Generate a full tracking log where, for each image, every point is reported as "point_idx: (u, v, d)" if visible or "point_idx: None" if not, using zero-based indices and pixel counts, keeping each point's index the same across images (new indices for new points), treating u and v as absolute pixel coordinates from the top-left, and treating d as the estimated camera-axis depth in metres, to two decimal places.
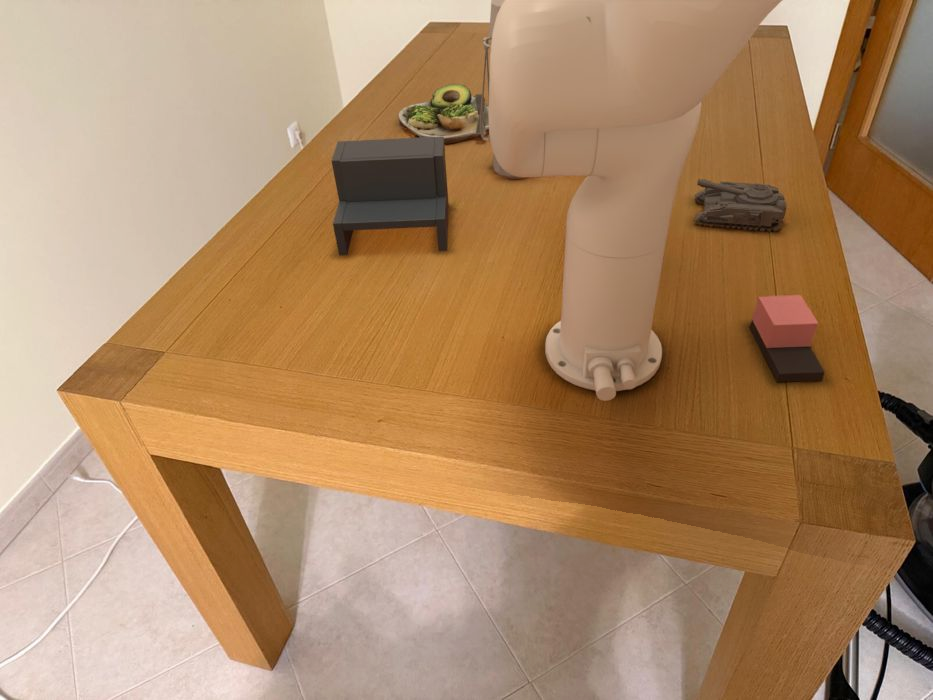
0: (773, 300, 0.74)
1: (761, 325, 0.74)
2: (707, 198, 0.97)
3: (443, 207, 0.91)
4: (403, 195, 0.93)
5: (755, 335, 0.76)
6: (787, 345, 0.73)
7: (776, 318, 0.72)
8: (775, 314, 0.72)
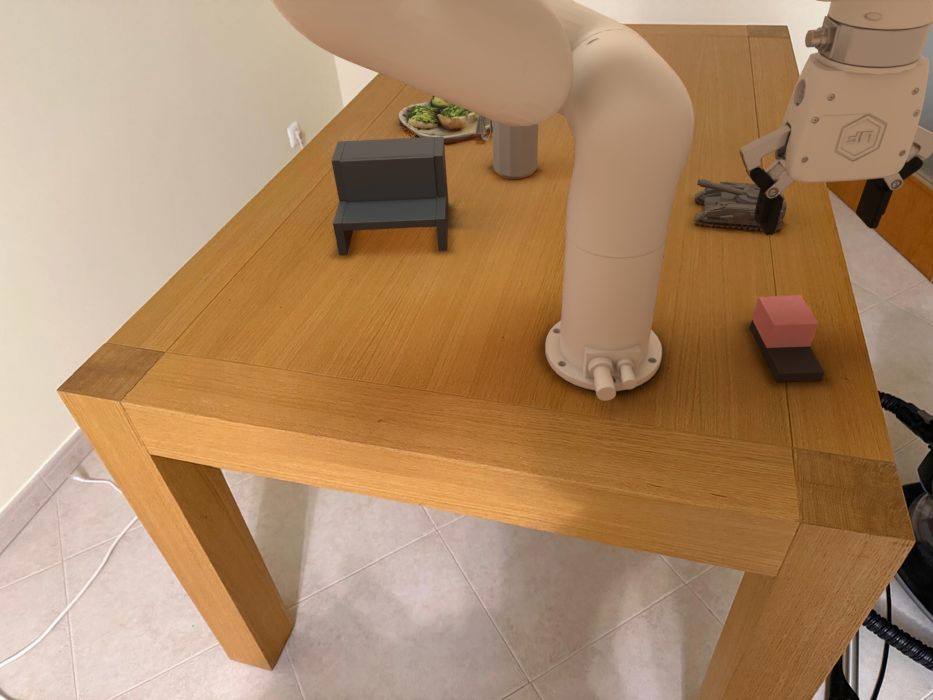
0: (773, 300, 0.74)
1: (761, 325, 0.74)
2: (707, 198, 0.97)
3: (443, 207, 0.91)
4: (403, 195, 0.93)
5: (755, 335, 0.76)
6: (787, 345, 0.73)
7: (776, 318, 0.72)
8: (775, 314, 0.72)
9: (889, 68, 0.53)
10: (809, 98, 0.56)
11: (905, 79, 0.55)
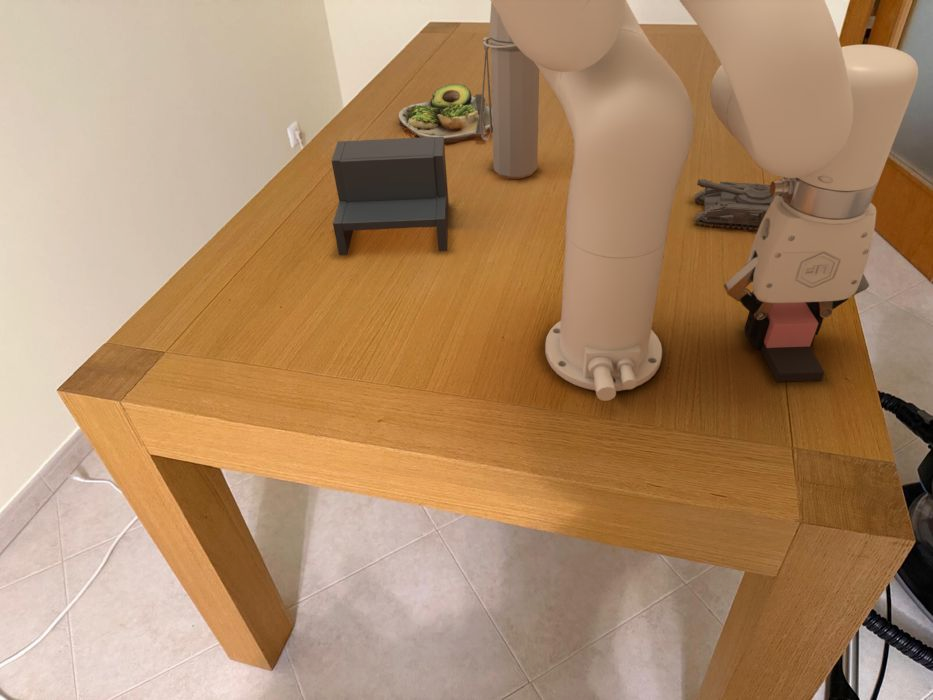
0: None
1: None
2: (707, 198, 0.97)
3: (443, 207, 0.91)
4: (403, 195, 0.93)
5: None
6: (787, 345, 0.73)
7: (776, 318, 0.72)
8: (775, 314, 0.72)
9: (840, 220, 0.61)
10: (773, 236, 0.65)
11: (855, 226, 0.63)
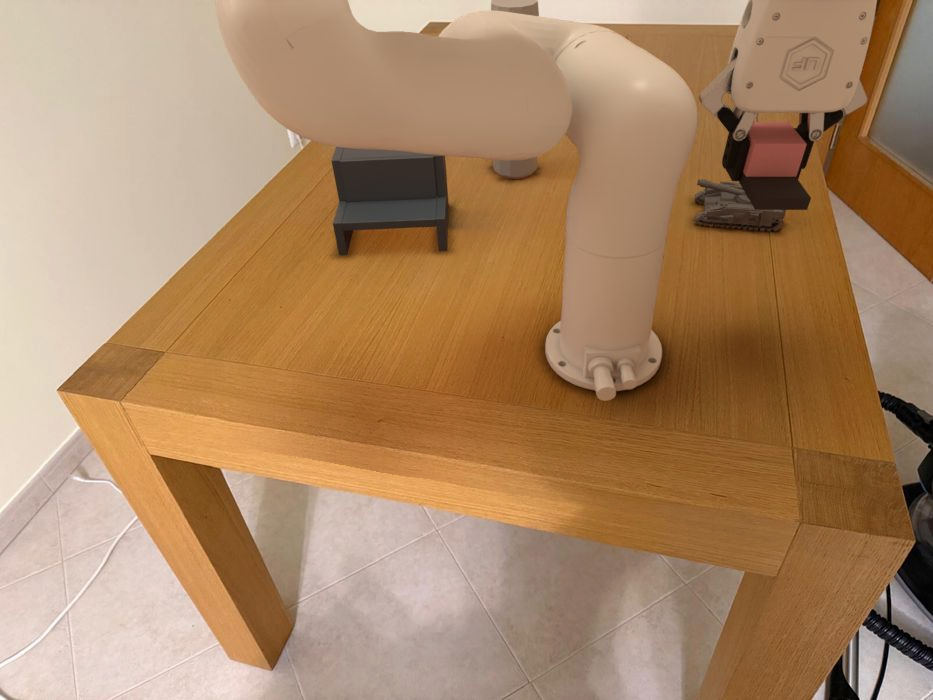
0: (756, 125, 0.64)
1: None
2: (707, 198, 0.97)
3: (443, 207, 0.91)
4: (403, 195, 0.93)
5: None
6: (770, 174, 0.63)
7: (758, 138, 0.62)
8: (757, 136, 0.62)
9: None
10: (755, 17, 0.55)
11: (853, 1, 0.53)
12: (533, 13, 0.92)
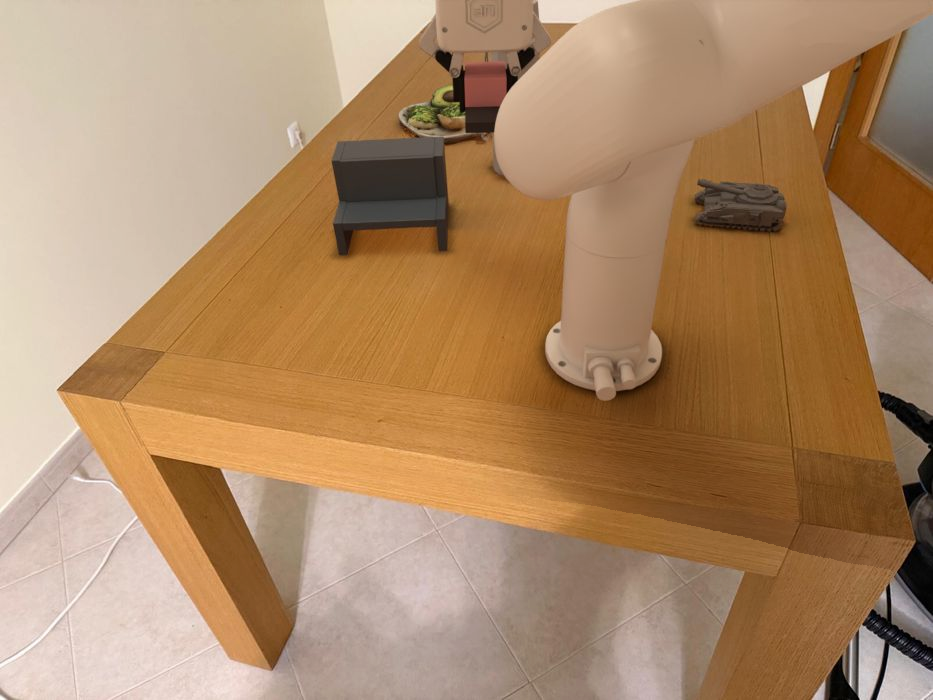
0: (476, 64, 0.77)
1: None
2: (707, 198, 0.97)
3: (443, 207, 0.91)
4: (403, 195, 0.93)
5: None
6: (484, 104, 0.76)
7: (470, 75, 0.75)
8: (470, 72, 0.76)
9: None
10: None
11: None
12: None
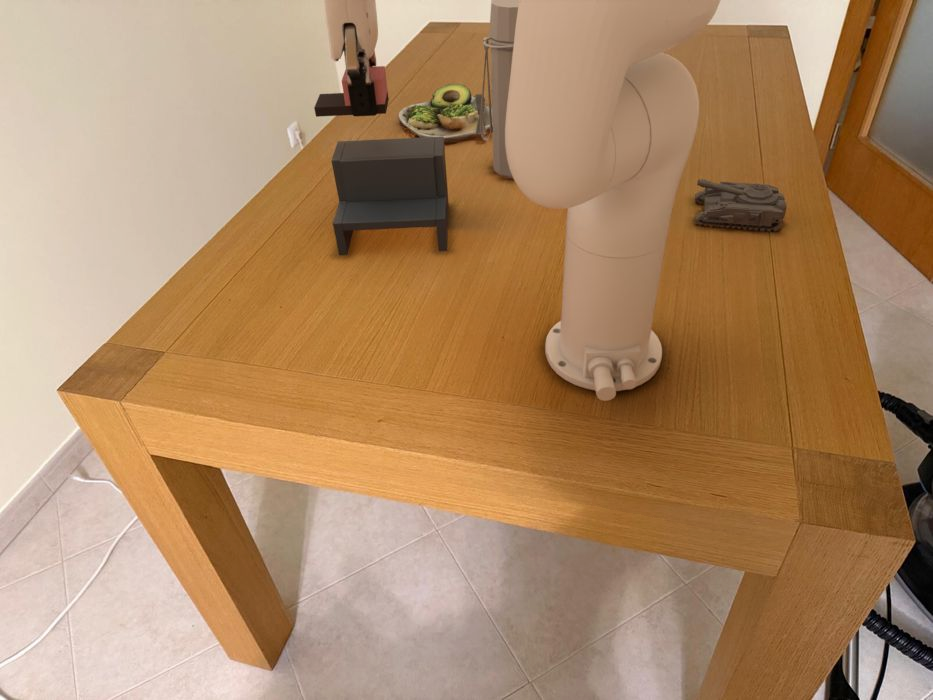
0: (377, 69, 0.86)
1: None
2: (707, 198, 0.97)
3: (443, 207, 0.91)
4: (403, 195, 0.93)
5: None
6: None
7: None
8: None
9: None
10: None
11: None
12: None
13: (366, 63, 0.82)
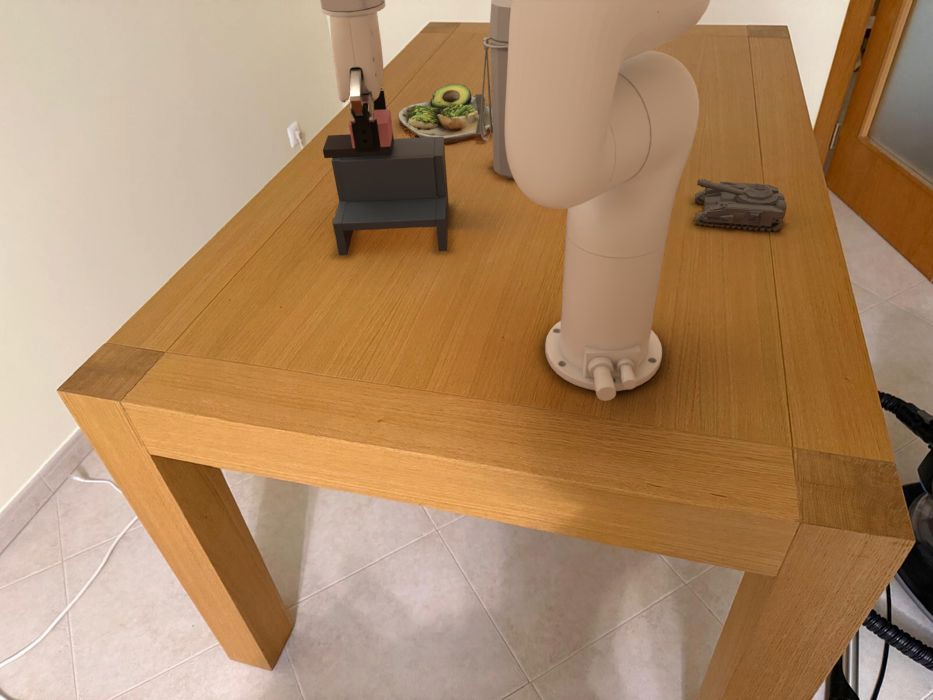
0: (383, 113, 0.90)
1: None
2: (707, 198, 0.97)
3: (443, 207, 0.91)
4: (403, 195, 0.93)
5: None
6: None
7: None
8: None
9: None
10: None
11: None
12: None
13: (370, 100, 0.83)
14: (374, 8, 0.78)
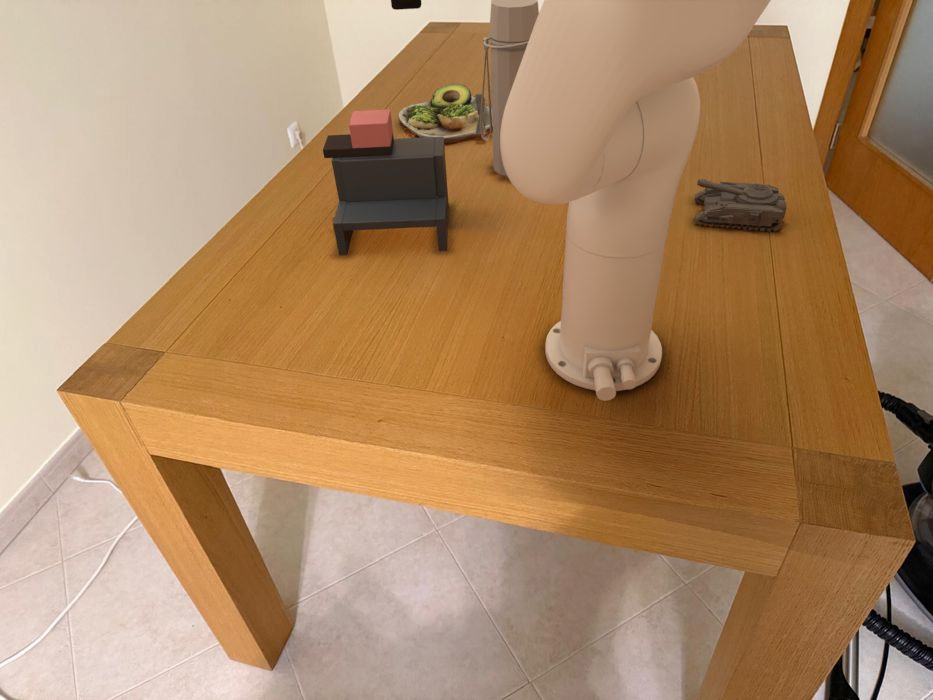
0: (383, 113, 0.90)
1: None
2: (707, 198, 0.97)
3: (443, 207, 0.91)
4: (403, 195, 0.93)
5: None
6: None
7: (360, 112, 0.91)
8: (365, 112, 0.91)
9: None
10: None
11: None
12: (533, 13, 0.92)
13: None
14: None
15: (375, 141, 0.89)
